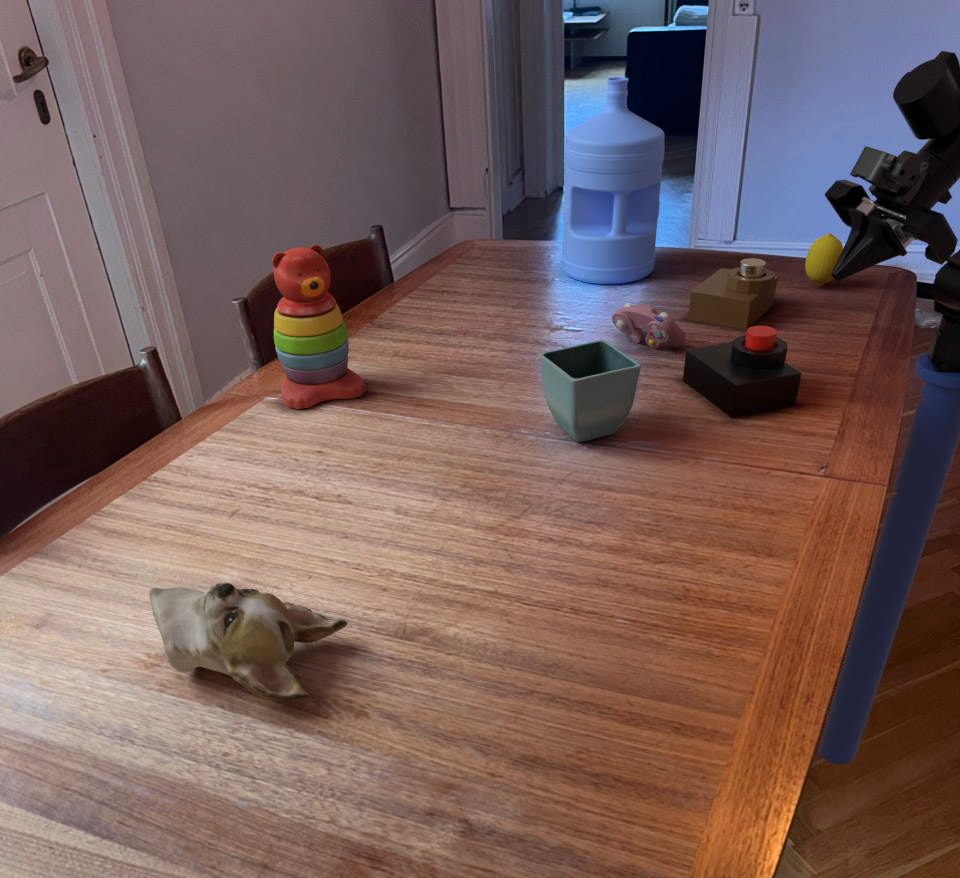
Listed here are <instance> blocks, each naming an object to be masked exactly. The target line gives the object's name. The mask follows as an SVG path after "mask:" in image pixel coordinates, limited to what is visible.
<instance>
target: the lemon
mask: <svg viewBox="0 0 960 878" xmlns="http://www.w3.org/2000/svg"><path fill="white" fill-rule="evenodd" d="M843 248H844V246H843V243H842V241H840V239H839V238H838V237H836V236H835V235H833V234H832V233H830V232H828V233H826V234H825V235H822V236H820V237H818V238H816V239H815V240H814V241H813V242H812V243H811V245H810V247H809V249H808V251H807V254H806V257H805V262H804V269H805V273H806V276H807V277H808V279H810V280H811V281H812V282H814V283H815V285H816V286H817V287H822V286H823V285H824V284H827V283H830V282H831V281H833V280H835V279H834V278H833V277H832V275H831V273H832V271H833V269H834V267H835V265H836V263H837V260H838V258H839V256H840V254H841V252H842V250H843Z"/></svg>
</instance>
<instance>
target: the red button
mask: <svg viewBox="0 0 960 878" xmlns="http://www.w3.org/2000/svg"><path fill="white" fill-rule="evenodd" d="M745 335H746V340H745V347H746V348H749V349H753V350H759V351H767V350H772V349H774V348H775V343H776V337H777V336H778V330H777V329H775V328H774V327H771V326H767V325H752V326H750V327H749V328H748V329H747V330H746V333H745Z"/></svg>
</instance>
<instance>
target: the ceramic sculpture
mask: <svg viewBox="0 0 960 878" xmlns="http://www.w3.org/2000/svg"><path fill="white" fill-rule="evenodd" d="M148 595H149V597H148V598H149V600H150V605H151V606H150V607H151V613H152V616H153V618H154V622H155V624H156V627H157V629H158V632H159V634H160V636H161V637H160V638H161V640H162V644H163V648H164V649H163V650H164V652H165V655H166V657H167V662H168V663H169V665H170V666H171V668H173V669H174V670H176V671H177V672H181V673H190V672H192V671H194V670H195V669H196V668H205V669H208V670H210V671H214V672H218V673H222V674H224V675H228V676H230V677H231V678H232V679H233V680H234V681H235V682H236V683H238V684H239V685H241V686H243V687H244V688H245V689H247V690H248V691H249V692H250V693H251V694H253V695H255V696H257V697H259V698H261V699H264V700H267V701H278V702H281V701H282V702H284V701H285V702H287V701H294V700H303V699H308V698H309V697H310V694H309V692H307V690H305V688H303V686H302V684H301V682H300V680H299V679H298V677H297V675H296V674H295V672H294V671H293V670H292V668H291V667H290V666H289V664H286V663H287V662H288V661H289V660H290V659H291V658H292V655H293V651H294V647H295V643H304V644H305V643H307V644H313V643H317V642H318V641H321V640H323V639H325V638H327V637H330V636H332V635H334V634H336V633H337V632H339V631H340V630H342V629H345V628H346V627H347V625H348V620H344V619H329V618H328V617H325V616H324V615H322V614H320V613H319V612H313V610H312V609H311V608H307V607H306V606H304V605H297V604H294V603H291V602H289V601H286V602H283V600H281V599H280V598H278V597H277V596H276V595H275V594H274V593H270V592H260V591H259V590H258V589H257V588H256V589H255V588H237V587H235V585H233V584H232V583H229V582H220V583H217V584H215V585H212V586H210V587H209V588H208V589H207V588H206V590H205V591H202V590H199V589H195V588H189V587H185V586H176V587H166V588H159V587H151V588H150V589H149V593H148Z"/></svg>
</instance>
